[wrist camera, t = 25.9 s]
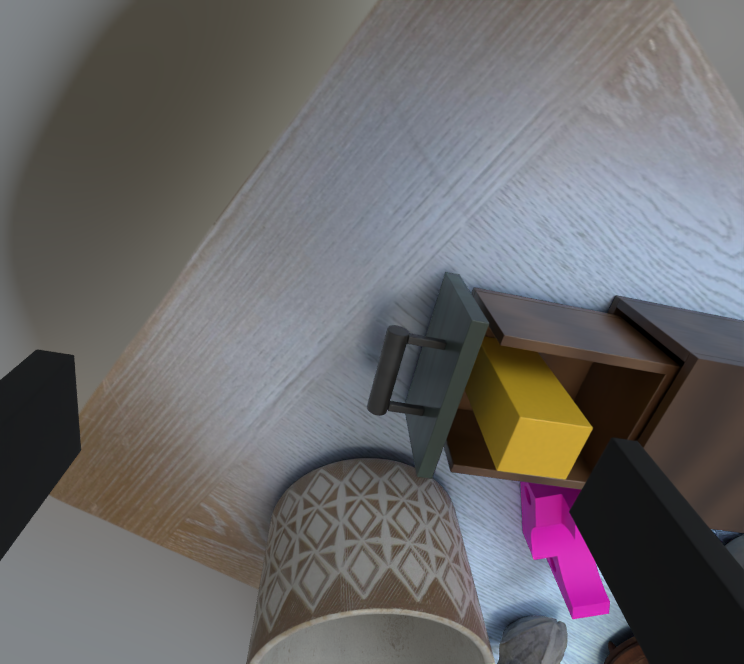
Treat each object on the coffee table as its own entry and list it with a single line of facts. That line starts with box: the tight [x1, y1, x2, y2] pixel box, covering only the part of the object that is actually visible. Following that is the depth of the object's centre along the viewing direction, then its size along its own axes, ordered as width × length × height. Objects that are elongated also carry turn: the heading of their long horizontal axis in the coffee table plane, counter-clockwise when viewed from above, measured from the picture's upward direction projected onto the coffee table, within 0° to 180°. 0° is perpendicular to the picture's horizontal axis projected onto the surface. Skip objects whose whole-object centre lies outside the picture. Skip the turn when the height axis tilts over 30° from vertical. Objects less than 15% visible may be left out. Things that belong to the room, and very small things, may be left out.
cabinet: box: [607, 296, 744, 533], centre depth 40 cm, size 17×15×11 cm
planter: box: [246, 458, 495, 664], centre depth 43 cm, size 19×19×16 cm
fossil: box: [497, 615, 567, 664], centre depth 57 cm, size 11×9×8 cm
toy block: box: [520, 481, 610, 619], centre depth 48 cm, size 15×6×8 cm, turn 10°
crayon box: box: [465, 336, 593, 479], centre depth 35 cm, size 4×5×11 cm
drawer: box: [367, 272, 681, 490], centre depth 37 cm, size 20×13×9 cm
